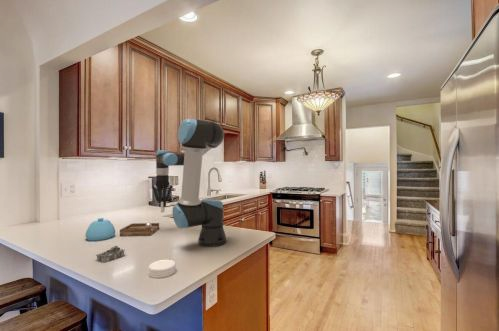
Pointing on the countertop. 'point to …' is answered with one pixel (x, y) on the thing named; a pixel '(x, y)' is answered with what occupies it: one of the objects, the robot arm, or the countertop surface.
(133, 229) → the tray
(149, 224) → the ball
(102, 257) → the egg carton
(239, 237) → the countertop surface
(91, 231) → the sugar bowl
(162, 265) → the coaster
